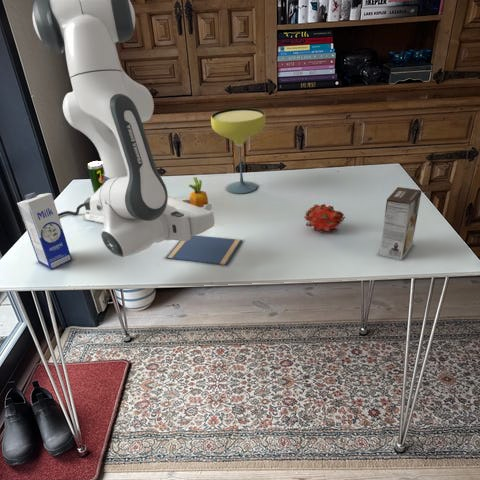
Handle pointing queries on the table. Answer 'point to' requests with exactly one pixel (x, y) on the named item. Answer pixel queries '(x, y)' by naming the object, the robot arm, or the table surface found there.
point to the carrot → (198, 194)
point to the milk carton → (45, 229)
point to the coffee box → (400, 222)
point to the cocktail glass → (239, 135)
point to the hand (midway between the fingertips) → (201, 203)
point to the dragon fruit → (323, 218)
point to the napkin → (205, 250)
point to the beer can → (95, 174)
